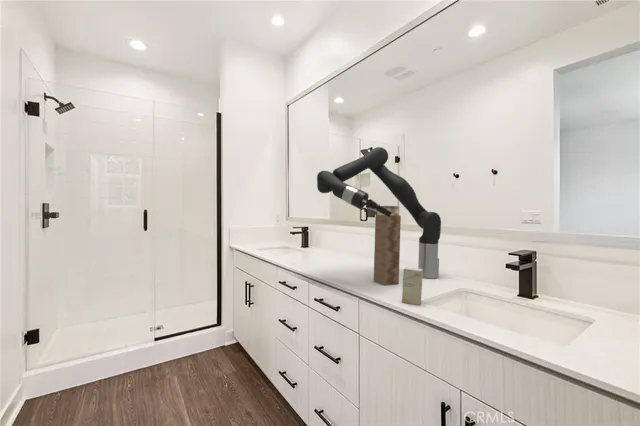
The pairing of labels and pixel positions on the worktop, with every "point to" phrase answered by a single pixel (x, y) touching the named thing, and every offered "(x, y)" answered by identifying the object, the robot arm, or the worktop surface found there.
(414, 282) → the skincare box
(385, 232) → the walnut stand
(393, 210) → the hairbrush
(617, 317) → the worktop surface
